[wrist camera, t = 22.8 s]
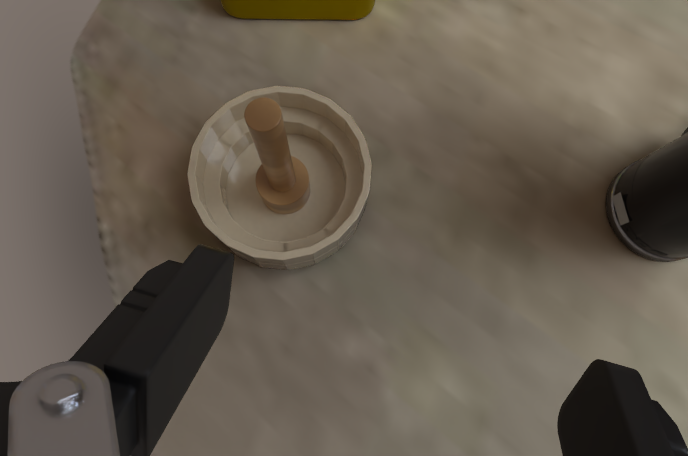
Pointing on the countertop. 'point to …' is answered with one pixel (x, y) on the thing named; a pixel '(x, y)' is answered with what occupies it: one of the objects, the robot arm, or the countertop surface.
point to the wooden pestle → (276, 159)
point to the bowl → (243, 163)
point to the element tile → (299, 9)
